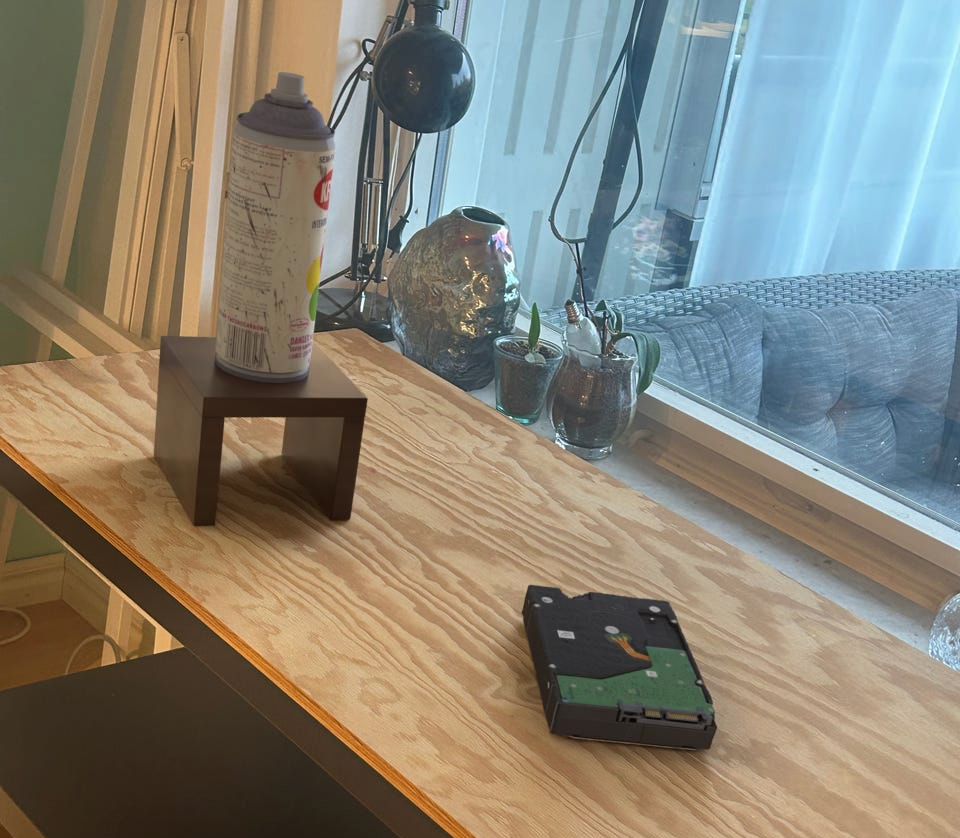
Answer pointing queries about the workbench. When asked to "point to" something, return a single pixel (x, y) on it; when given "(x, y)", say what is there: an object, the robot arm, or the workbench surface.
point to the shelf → (218, 395)
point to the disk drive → (616, 670)
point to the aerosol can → (274, 236)
